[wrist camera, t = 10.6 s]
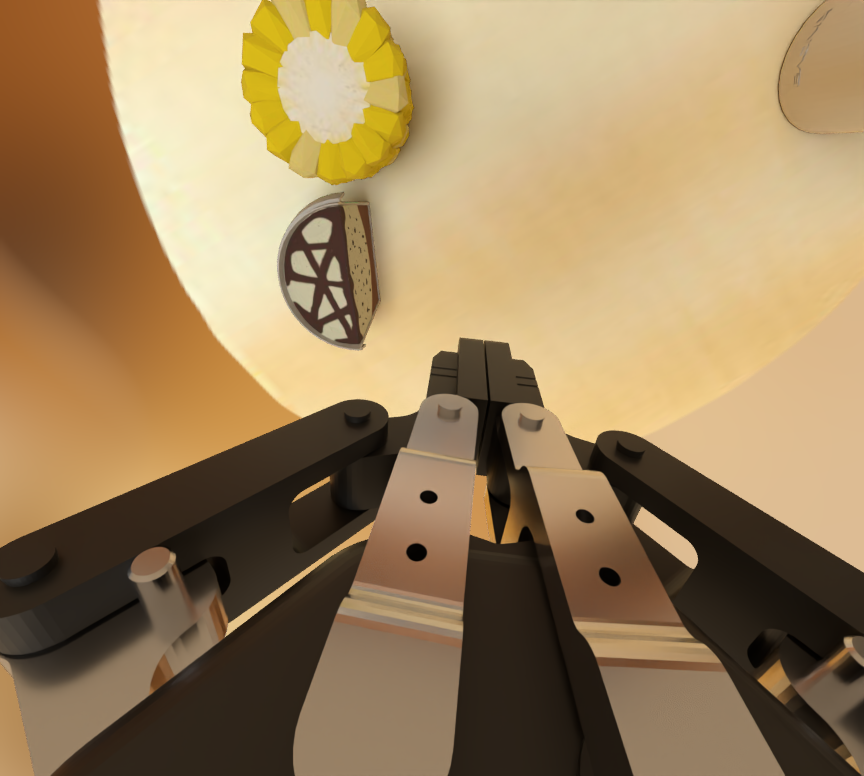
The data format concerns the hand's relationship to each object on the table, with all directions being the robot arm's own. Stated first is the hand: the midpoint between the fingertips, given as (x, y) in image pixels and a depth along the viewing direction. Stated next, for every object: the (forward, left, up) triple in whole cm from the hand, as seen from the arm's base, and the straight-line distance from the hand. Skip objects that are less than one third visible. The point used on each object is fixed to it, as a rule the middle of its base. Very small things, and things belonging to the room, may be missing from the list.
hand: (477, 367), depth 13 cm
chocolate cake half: (+12, +4, -29) cm, 32 cm away
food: (+10, -8, -29) cm, 32 cm away
